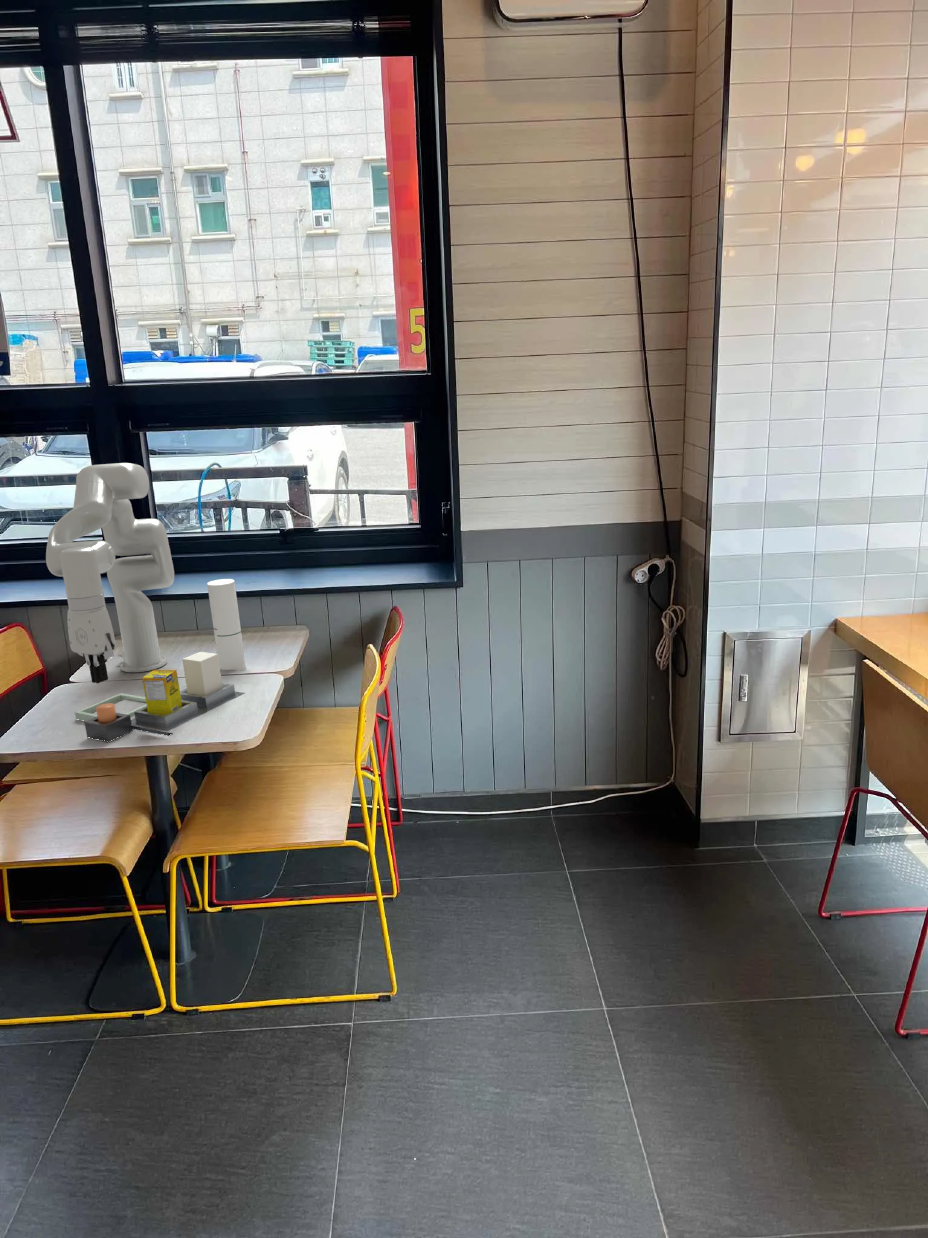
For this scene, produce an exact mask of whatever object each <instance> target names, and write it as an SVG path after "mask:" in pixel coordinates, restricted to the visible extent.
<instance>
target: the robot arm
mask: <svg viewBox="0 0 928 1238" xmlns="http://www.w3.org/2000/svg"><path fill="white" fill-rule="evenodd" d="M149 479H150V478H149V475H148V474H147V471H146V469H145V468H144V467H143V466H141V465H139V464H137V463H131V462H130V463H129V462H119V463H118V462H115V463H105V464H104V463H103V464H102V463H101V464H92V465H88V466H85V467H83V468H82V469H81V470H80V471H79V472H78V473H77V474H76V478H75V482H76V483H75V484H76V485H75V489H74V490H75V491H74V492H75V493H74V499H73V508H72V509H71V510H69V511H68V512H67V513H65V514H64V515H63V516H62V517H61V518H60V519H59V520H58V521H56V523H55V524H54V525H53V526H52V528H51V529H50V530H49V534H48V536H47V537H48V538H47V544H46V550H45V551H46V552H45V561H46V562H45V563H46V567H47V569H48V570H49V572H50V573H51V574H52V575H54V576H56V577H62V578H63V582H64V587H65V592H66V599H67V604H68V609H67V616H66V617H67V618H66V619H67V633H68V641H69V647H70V650H71V651H72V652H73V653H75V654H77V655H79V656H81V657H83V659H84V660H85V662H86V665H87V666H88V667H89V671H90V678H91V683H92V684H93V683H94V684H100V683H103V682H106V681H108V680H109V676H108V670H107V669H108V668H107V663H108V660H109V659H112V658H114V657H115V654H114V650H115V649H116V640H115V639H116V638H115V633H114V629H113V625H112V620H111V617H110V614H109V611H108V609H107V606H106V601H105V595H104V589H103V588H104V587H103V582H102V576H101V574H105V573H106V574H107V575H106V576H107V579H108V583H109V585H110V588H111V591H112V594H113V597H114V602H115V607H116V612H117V619H118V626H119V630H120V632H119V633H120V636H121V637H120V638H121V642H122V649H121V650H120V652H118V653H117V657H118V658H122V660H123V661H122V662H121V664H120V670H121V671H122V672H125V673H142V672H148V671H150V672H151V671H153V670H158V669H160V668H161V667H164V666H165V665H166V664H167V663H168V660H167V657H166V656H164V655H161V652H160V645H159V639H158V632H157V626H156V620H155V613H154V607H153V603H152V602H151V600H150V598H148V596H146V594H145V593H144V592H142V591H149V590H158V589H166V588H170V587H171V586H173V584H174V582H175V570H174V569H175V568H174V563H173V560H172V554H171V548H170V545H169V544H170V543H169V539H168V535H167V531H166V527H165V525H164V524H163V522H162V521H161V520H160V519H158V518H140V519H137V518H135V515H134V512H133V507H132V503H131V501H130V500H134V499H135V500H136V499H143V498H145V497H146V496H147V495H148V493H149V489H150V481H149ZM100 529H102V534H103V537H104V540H100V539H99V540H98V539H97V540H81V541H76V540H78V539H79V538H82V537H84V536H87V535H89V534H92V533H94V532H96V531H98V530H100ZM147 554H148V555H147ZM116 556H120V558H116ZM123 556H124V557H123ZM125 556H126V557H125Z"/></svg>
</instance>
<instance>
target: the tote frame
mask: <svg viewBox="0 0 928 1238" xmlns="http://www.w3.org/2000/svg"><path fill="white" fill-rule="evenodd" d="M125 700H130V701H135V702H142V703H145V704H143V705H142V706H139V707H137V708H135V709H132V710H130V711H128V712H126V713H124V714H126V715H130V718H131V717H133V716H135V714H134V712H135V711H137V710H139V709H141V708H144V707H146V706H147V704H146V699H145V696H139V695H134V694H129V693H122V692H120V693H117V694H116V695H113V696H110V697H108V698H106V699H103V700H101V701H98V702H97V703H94V704H91V705H89V706H87V707H84V708H82V709H79V710H77V711H75V712H74V716H75V720H76V719H79V720H84V721H88V720H90V719H93V718H95V717H97V711H96V707H97V706H99V705H102V704H106V703H113V704H114V705H116V704H118V703H120V702H122V701H125Z"/></svg>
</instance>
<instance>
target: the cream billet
mask: <svg viewBox="0 0 928 1238" xmlns="http://www.w3.org/2000/svg"><path fill="white" fill-rule="evenodd" d="M182 666H183V673H184V679H185V684H186V688H187V693H188V694H194V695H201V696H207V695H209V694H211V693H213V692H215V691H218V690H220V689H222V688H223V687H222V683H223V680H222V674H221V669H220V665H219V658H218V654H217V653H212V652H207V651H206V652H205V651H198V652H196V653H194V654H191V655H189V656H187V657H184V658H182Z"/></svg>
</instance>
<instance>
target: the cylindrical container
mask: <svg viewBox="0 0 928 1238" xmlns="http://www.w3.org/2000/svg"><path fill="white" fill-rule="evenodd" d="M206 585H207V591H208V599H209V605H210V613H211V620H212V626H213V634H214V640H215V641H214V642H215V647H216V650H215V651H216V654H218V658H219V665H220V670H222V671H233V670H234V671H240V672H243V671H245V670H246V668H247V666H246V660H245V659H246V658H245V651H244V644H243V637H242V629H241V620H240V613H239V607H238V598H237V597H238V596H237V592H236V591H237V590H236V584H235V580H234V579H232V578H221V579H216V580H215V579H214V580H211V581H208V582H207V584H206Z"/></svg>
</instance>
